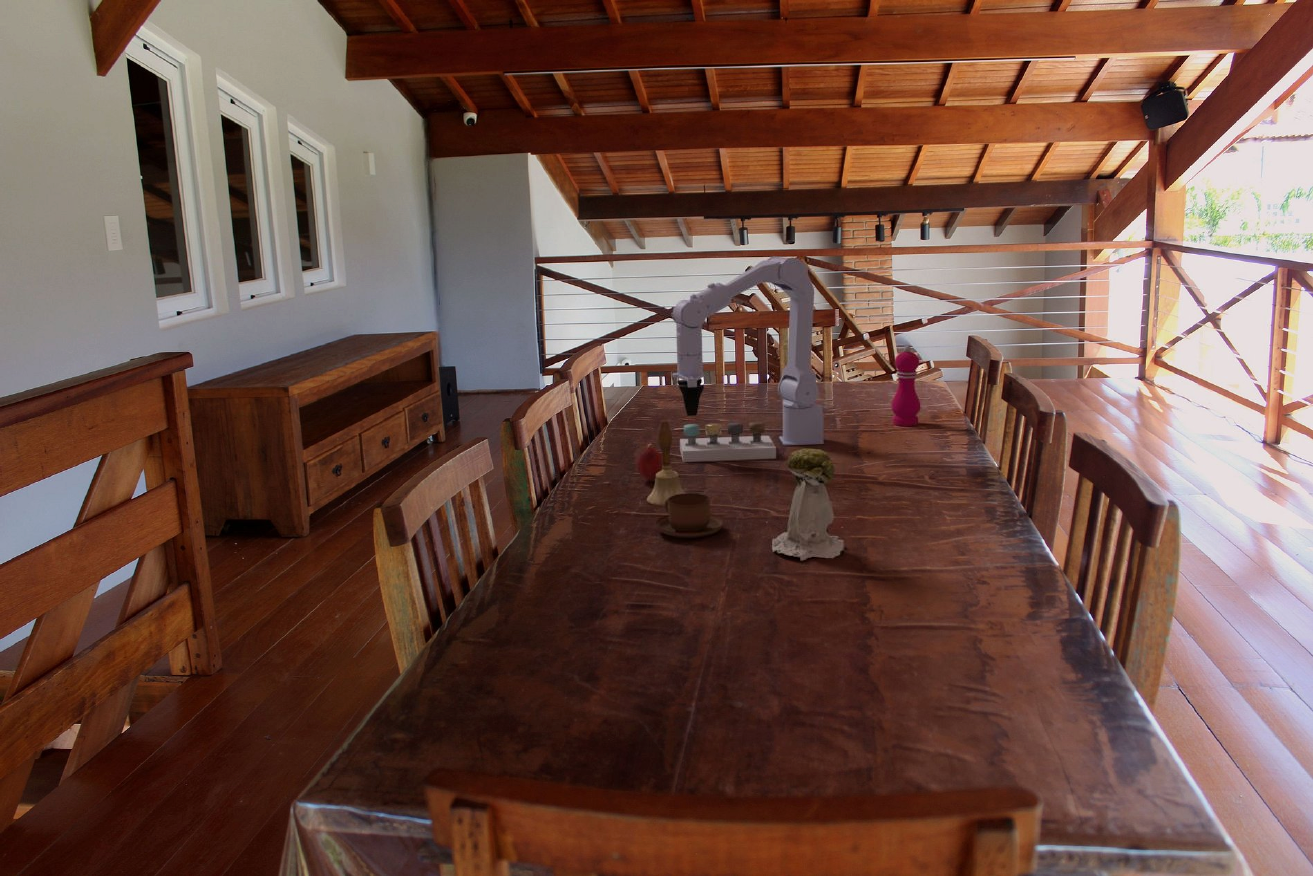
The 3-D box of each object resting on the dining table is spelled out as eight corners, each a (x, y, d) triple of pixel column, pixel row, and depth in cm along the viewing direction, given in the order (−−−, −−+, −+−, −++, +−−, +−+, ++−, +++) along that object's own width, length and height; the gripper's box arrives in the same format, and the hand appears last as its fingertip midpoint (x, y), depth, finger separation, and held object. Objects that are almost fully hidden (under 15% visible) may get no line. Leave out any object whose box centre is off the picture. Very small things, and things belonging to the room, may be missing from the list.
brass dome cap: (720, 440, 232) (720, 423, 231) (722, 444, 229) (721, 426, 228) (705, 441, 232) (704, 423, 231) (706, 445, 229) (706, 427, 228)
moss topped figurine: (763, 541, 171) (762, 444, 167) (829, 535, 173) (830, 439, 169) (783, 563, 160) (783, 460, 156) (854, 556, 162) (855, 454, 158)
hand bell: (672, 508, 191) (670, 426, 188) (638, 502, 196) (635, 422, 193) (697, 497, 198) (695, 418, 194) (663, 491, 203) (661, 414, 199)
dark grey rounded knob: (742, 439, 232) (742, 422, 232) (744, 443, 229) (743, 425, 228) (726, 440, 232) (726, 422, 231) (728, 444, 229) (728, 426, 228)
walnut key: (763, 439, 233) (763, 421, 232) (765, 442, 229) (765, 424, 228) (748, 439, 232) (748, 422, 232) (750, 443, 229) (749, 425, 228)
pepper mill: (917, 420, 259) (919, 343, 254) (922, 426, 252) (924, 347, 247) (889, 420, 259) (890, 344, 255) (892, 427, 252) (894, 348, 248)
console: (768, 445, 237) (768, 435, 237) (776, 458, 226) (775, 447, 225) (680, 449, 237) (679, 439, 236) (682, 462, 225) (682, 451, 225)
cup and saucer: (643, 538, 175) (642, 504, 174) (674, 518, 185) (673, 486, 184) (706, 547, 170) (705, 512, 168) (734, 526, 180) (733, 493, 178)
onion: (661, 485, 207) (660, 447, 205) (634, 484, 208) (633, 447, 206) (667, 477, 213) (665, 441, 211) (640, 477, 214) (639, 440, 212)
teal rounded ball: (699, 441, 232) (698, 423, 231) (700, 445, 229) (699, 427, 228) (683, 442, 232) (683, 424, 231) (684, 445, 229) (684, 427, 228)
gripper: (670, 350, 233) (672, 407, 236) (673, 359, 219) (675, 420, 222) (700, 348, 233) (702, 406, 236) (705, 358, 219) (707, 419, 222)
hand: (691, 413), depth 229 cm, fingers open, 5 cm apart
